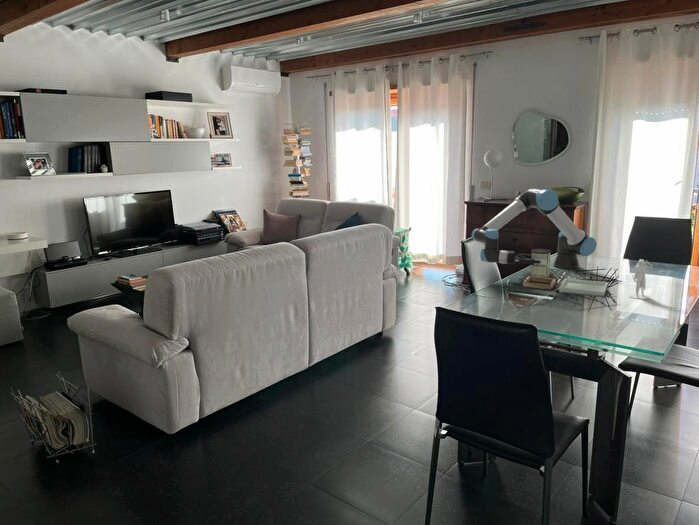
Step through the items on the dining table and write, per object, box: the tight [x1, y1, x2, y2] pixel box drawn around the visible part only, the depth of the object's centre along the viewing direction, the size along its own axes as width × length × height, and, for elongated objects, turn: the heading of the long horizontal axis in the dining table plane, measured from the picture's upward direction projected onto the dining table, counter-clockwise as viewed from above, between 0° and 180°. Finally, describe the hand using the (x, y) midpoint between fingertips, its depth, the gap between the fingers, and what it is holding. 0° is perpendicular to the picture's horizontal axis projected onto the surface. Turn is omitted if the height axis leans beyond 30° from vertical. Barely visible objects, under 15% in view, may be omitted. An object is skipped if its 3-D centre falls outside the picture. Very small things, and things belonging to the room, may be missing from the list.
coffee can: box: [529, 247, 552, 278], centre depth 296 cm, size 10×10×14 cm
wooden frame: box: [522, 275, 557, 290], centre depth 298 cm, size 15×15×2 cm
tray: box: [558, 278, 608, 298], centre depth 287 cm, size 22×22×2 cm
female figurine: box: [628, 258, 654, 300], centre depth 268 cm, size 11×16×20 cm
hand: (548, 260), depth 294 cm, fingers closed on coffee can, 10 cm apart
